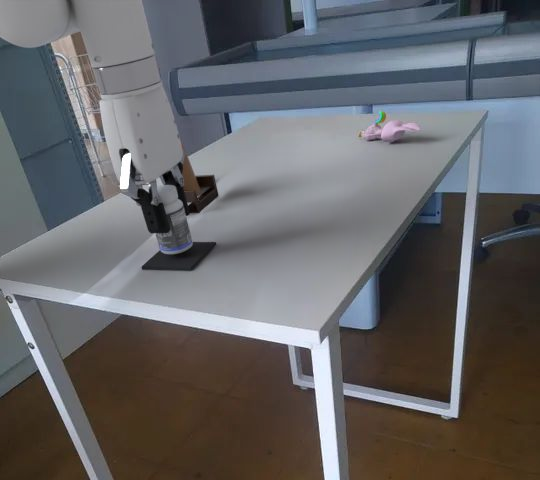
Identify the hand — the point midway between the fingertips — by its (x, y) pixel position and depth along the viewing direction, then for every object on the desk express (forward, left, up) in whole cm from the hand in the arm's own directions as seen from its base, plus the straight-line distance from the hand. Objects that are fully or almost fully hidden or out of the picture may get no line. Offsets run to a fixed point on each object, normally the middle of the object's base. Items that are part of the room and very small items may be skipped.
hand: (169, 222), depth 75 cm
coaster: (0, 0, -5) cm, 5 cm away
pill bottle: (0, 0, -4) cm, 4 cm away
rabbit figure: (+20, +50, -5) cm, 54 cm away
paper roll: (-13, +20, +2) cm, 24 cm away
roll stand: (-9, +20, -5) cm, 23 cm away
